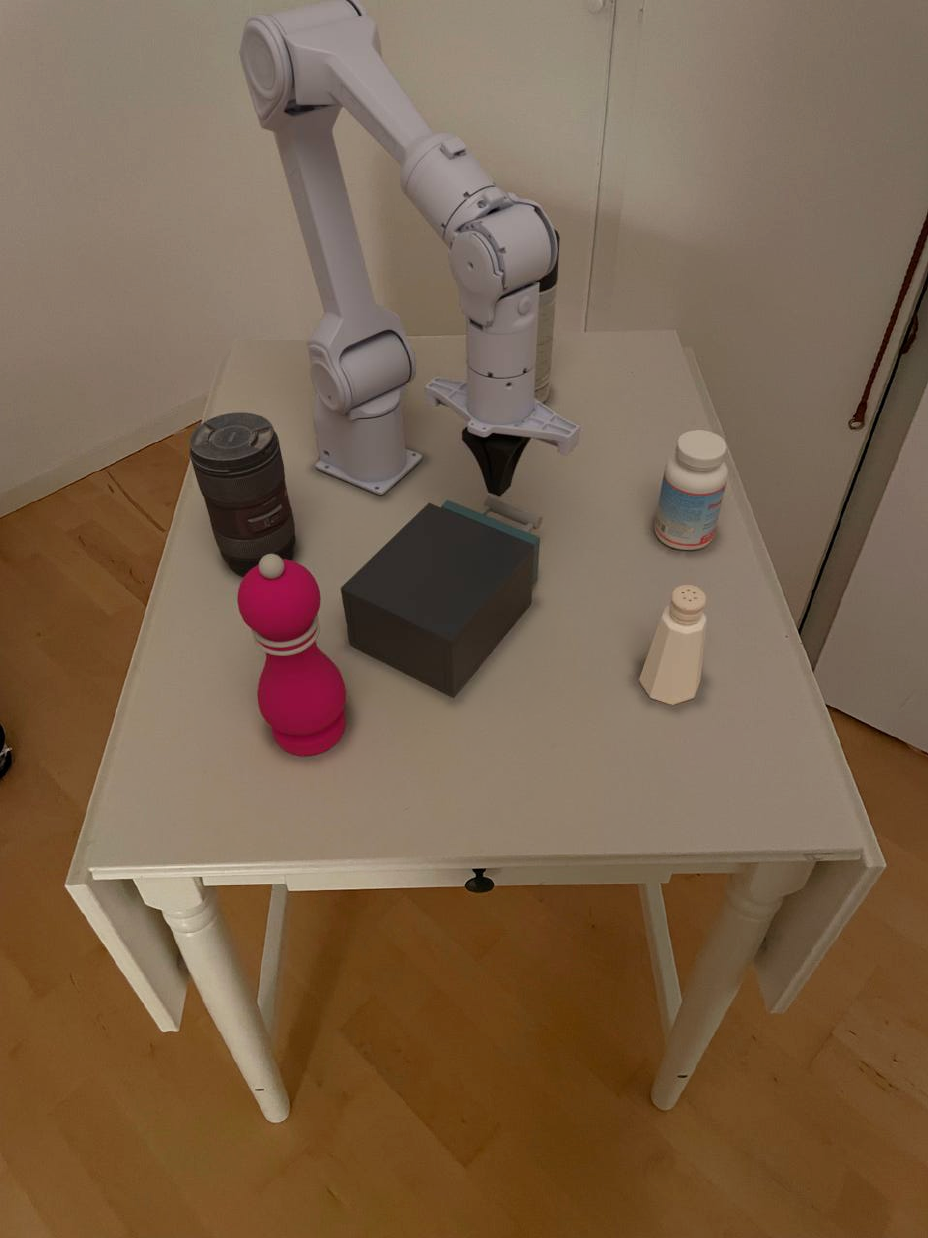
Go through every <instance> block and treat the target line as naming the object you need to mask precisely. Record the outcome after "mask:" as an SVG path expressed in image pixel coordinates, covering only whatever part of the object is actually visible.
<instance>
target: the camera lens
mask: <svg viewBox="0 0 928 1238" xmlns="http://www.w3.org/2000/svg"><path fill="white" fill-rule="evenodd" d="M189 457H190V461H191V464H192V467H193V471H194V475H195V478H196V482H197V485H198V488H199V490H200V493H201V496H202V497H203V500H204V503H205V506H206V507H205V508H206V510H207V514H208V518H209V523H210V527H211V531H212V534H213V537H214V540H215V543H216V545H217V547H218V550H219V552H220V555H221V557H222V559H223V560H224V561H225V562H226V563H227V565H228V567H229V569H230V570H231V571H232V572H234V573H235V574H236V575H237V576H239V577H242V578H244V576H245V575H246V574H247V573H248V572H249V571H250V570H251V569H252V568H253V567H255V566H257V565H258V564H259V562H260V560H261V559H262V558H263V557H264V556H265V555H267V554H275V555H278V556H279V557H280V558H281V559H287V560H290V561H293V557H294V554H295V553H294V552H295V551H294V550H295V549H294V548H295V545H296V527H295V526H296V525H295V519H294V516H293V515H294V514H293V510H292V506H291V503H290V499H289V494H288V488H287V484H286V474H285V473H286V472H285V464H284V460H283V455H282V449H281V445H280V440H279V436H278V434H277V432H276V431H275V429H274V426H273V423H272V422H271V421H270V420H268V418H266V417H264V416H262V415H259V414H256V413H253V412H246V411H245V412H242V411H239V412H238V411H237V412H235V411H234V412H229V413H224V414H219V415H217V416H214V417H211V418H209V419H207V420H205V421H204V422H202V423H201V424H199V425H198V426H197V427H196V428H195V429H194V430H193V432H192V433H191V435H190V438H189Z"/></svg>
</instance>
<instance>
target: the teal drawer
mask: <svg viewBox="0 0 928 1238" xmlns="http://www.w3.org/2000/svg"><path fill="white" fill-rule="evenodd" d="M440 507H441V508H444V509H446V510H449V511H451V512H453V513H456V514H458V515H461V516H463V517H465V518H468V519H470V520H473V521H475V522H477V523H480V524H482V525H485V526H487V527H489V528H492V529H494V530H497V531H499V532H502V533H504V534H506V535H509V536H511V537H514V538H516V539H518V540H521V541H523V542H526V543H528V544H530V545H533V546H534V561H533V579H532V588H534V586H535V585H536V584H537V583H538V580H539V579H538V578H539V563H540V562H539V560H540V548H541V547H540V546H541V537H540V536H538V535H535V534H533V533H532V531H533V530H539V529H540V527H541V526H542V524H543V519H544V518H543V516H542V515H539V514H536V513H535V512H532V511H529V510H527V509H524V508H521V507H520V506H516V505H514V504H512V503H509V502H506V501H504V500H501V499H499V498H497V497H493V496H491V495H488V496H487V497H486V498H485V500H484V503H483V507H482V508H481V509H480V510H478V511H477V510H474V509H473V508H469V507H467V506H464V505H462V504H459V503H457V502H455V501H452V500H450V499H446V500H445V501H444V502H443V503H442V504H441V505H440ZM490 512H491V513H494V514H496V515H498V516H502V517H504V518H506V519H509V520H510V521H511V520H512V521H514V522H516V523H519V524H521V525H524V527H523V528H522V529H521V528H519V527H516V526H513V525H511V524H509V523H507V522H503V521H501V520H499V519H496V518H494V517H491V516H489V515H488V514H489V513H490Z"/></svg>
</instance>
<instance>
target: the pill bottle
mask: <svg viewBox="0 0 928 1238" xmlns="http://www.w3.org/2000/svg"><path fill="white" fill-rule="evenodd" d="M674 452H675V453H674V454H672V456H670V457H669V459H667V462H666V463H665V465H664V470H663V471H664V472H663V477H662V483H661V488H660V492H659V493H660V494H659V499H658V503H657V509H656V516H655V522H654V532H655V535H656V536H657V538H658V540H660V541H661V542H662V543H663V544H664V545H666V546H668V547H670V548H672V549H677V550H681V551H682V550H684V551H695V550H700V549H703V548H705V547H707V546H708V545H709V544H710V543H711V542H712V540H713V538H714V537H715V533H716V529H717V524H718V521H719V516H720V512H721V508H722V504H723V500H724V496H725V490H726V488H727V483H728V477H729V471H728V467H727V465H726V463H725V458H726V452H727V443H726V441H725V439H723V438H722V437H721V436H720V435H718V434H716V433H714V432H713V431H709V430H703V429H695V430H688V431H686V432H683V434H681V435H680V436H679V438H678V439H677V441H676V446H675V451H674Z"/></svg>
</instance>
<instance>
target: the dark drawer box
mask: <svg viewBox="0 0 928 1238" xmlns="http://www.w3.org/2000/svg"><path fill="white" fill-rule="evenodd" d="M533 561H534V546H533V545H530V544H528V543H526V542H523V541H521V540H518V539H516V538H514V537H511V536H509V535H506V534H504V533H502V532H499V531H497V530H494V529H492V528H489V527H487V526H485V525H482V524H480V523H477V522H475V521H473V520H470V519H468V518H465V517H463V516H461V515H458V514H456V513H453V512H451V511H449V510H446V509H444V508H441V506H439V505H436V504H434V503H431V502H428V503H427V504H426V505H425V506H423V508H421V509H420V511H418V513H416V514H415V515H414V516H413V517H412V518H411V519H410V520H409V521H408V522H407V523H406V524H405V525H404V526H403V527H402V528H401V529H400V530H399V531H398V532H397V533H396V534H395V535H393V536H392V537H391V538H390V539H389V541H387V543H385V545H383V546H382V547H381V548H379V550H378V551H377V552H376V553H375V554H374V555H373V556H371V558H370V559H369V560H368V561H367V562H365V564H363V566H362V567H361V568H360V569H359V570H357V571H356V573H354V574H353V575H352V576H351V578H349V580H347V581H346V582H345V583H344V584H343V585H342V586H341V587H340V593H341V599H342V605H343V612H344V617H345V618H344V619H345V623H346V629H347V636H348V642H349V646H351V647H352V648H354V649H356V650H358V651H360V652H362V653H363V654H366V655H368V656H370V657H372V658H374V659H375V660H378V661H381V662H382V663H383V664H385V665H388V666H390V667H391V668H393V669H395V670H398V671H400V672H402V673H403V674H405V675H407V676H409V677H411V678H413V679H416V680H417V681H419V682H421V683H423V684H425V685H427V686H428V687H431V688H433V689H435V690H437V691H439V692H441V693H443V694H444V695H447V696H449V697H450V698H452V699H454V698H455V697H456V696H457V695H458V693H459V692H460V691H461V690H462V689H463V688H464V686H465V685H466V684H467V683H468V682H469V681H470V679H471V678H472V677H473V675H474V674H475V673H476V672H477V670H478V669H479V668H480V667H481V666H482V664H483V663H485V661H486V659H487V658H488V657H489V656H490V655H491V654H492V652H493V651H494V650H495V649H496V647H497V646H498V645H499V644H500V642H501V641H503V639H504V638H505V637H506V636H507V634H508V633H509V632H510V631H511V630H512V628H513V627H514V626H515V624H516V623H517V622H518V621H519V619H520V618H521V617H522V616H523V615H524V613H526V611H527V610H528V609H529V607H530V606H531V605H532V599H533V598H532V595H533V587H532V579H533Z"/></svg>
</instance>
